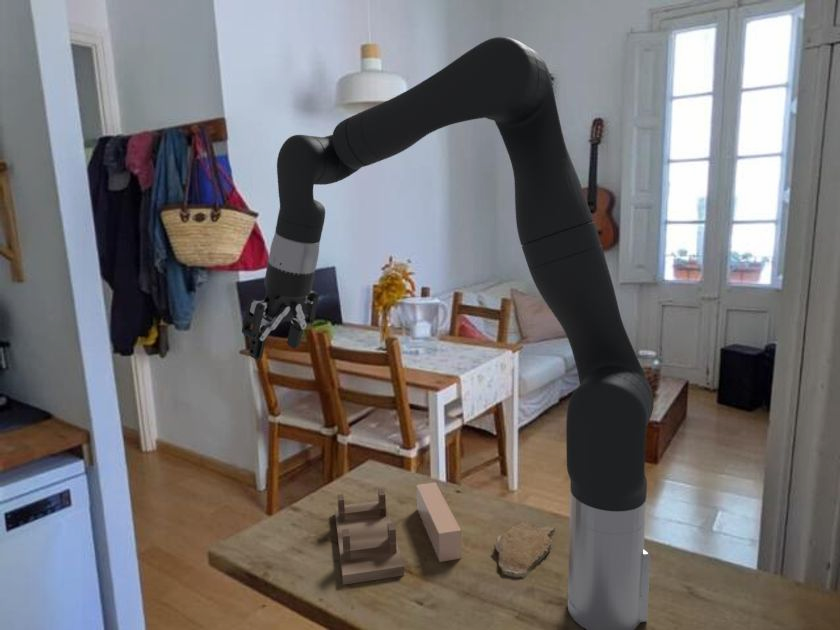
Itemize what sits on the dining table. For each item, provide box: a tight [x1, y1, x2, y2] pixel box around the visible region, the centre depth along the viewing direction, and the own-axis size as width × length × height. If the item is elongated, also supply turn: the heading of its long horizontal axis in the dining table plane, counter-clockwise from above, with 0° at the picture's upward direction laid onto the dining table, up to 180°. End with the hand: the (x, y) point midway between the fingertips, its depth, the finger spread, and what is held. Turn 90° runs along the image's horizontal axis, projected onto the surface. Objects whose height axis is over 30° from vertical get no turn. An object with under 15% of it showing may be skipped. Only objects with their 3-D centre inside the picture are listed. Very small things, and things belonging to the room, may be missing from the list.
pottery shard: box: [493, 519, 556, 579], centre depth 92 cm, size 8×3×15 cm
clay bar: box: [416, 481, 463, 563], centre depth 97 cm, size 4×16×5 cm, turn 13°
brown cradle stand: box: [334, 488, 405, 586], centre depth 95 cm, size 20×9×6 cm, turn 12°
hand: (274, 352), depth 99 cm, fingers open, 8 cm apart
